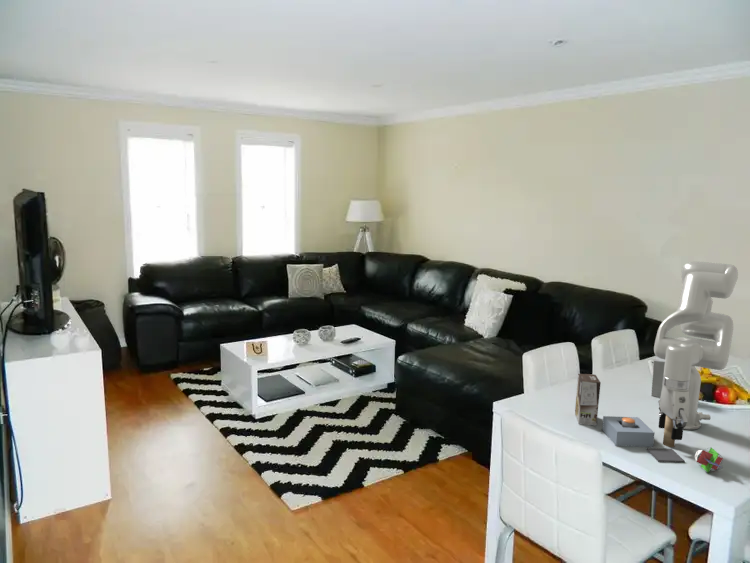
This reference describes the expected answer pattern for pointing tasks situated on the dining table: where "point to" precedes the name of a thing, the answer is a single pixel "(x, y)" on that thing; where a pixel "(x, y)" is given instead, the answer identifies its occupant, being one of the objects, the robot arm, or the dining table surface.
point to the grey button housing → (628, 432)
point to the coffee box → (587, 399)
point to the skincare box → (657, 376)
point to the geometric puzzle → (708, 459)
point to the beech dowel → (668, 432)
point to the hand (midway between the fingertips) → (669, 433)
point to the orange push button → (628, 422)
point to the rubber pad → (665, 455)
